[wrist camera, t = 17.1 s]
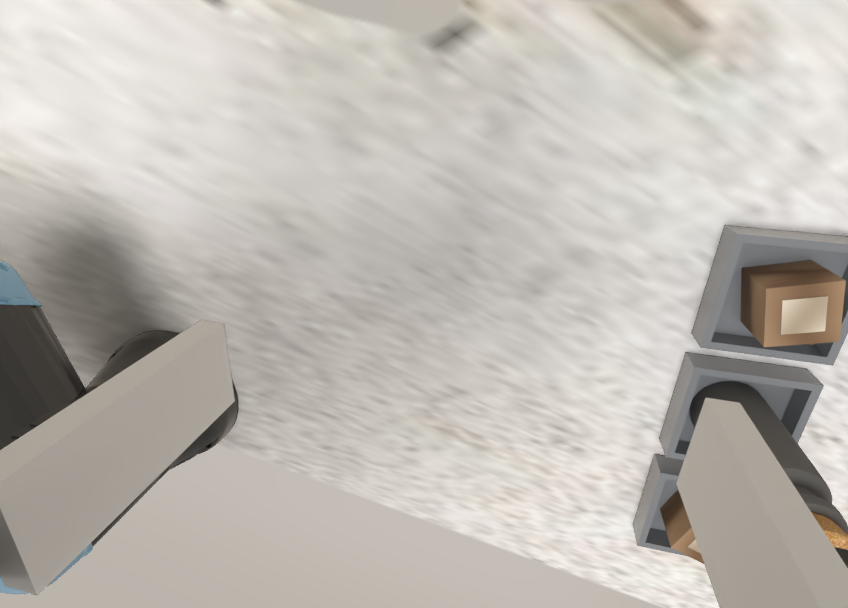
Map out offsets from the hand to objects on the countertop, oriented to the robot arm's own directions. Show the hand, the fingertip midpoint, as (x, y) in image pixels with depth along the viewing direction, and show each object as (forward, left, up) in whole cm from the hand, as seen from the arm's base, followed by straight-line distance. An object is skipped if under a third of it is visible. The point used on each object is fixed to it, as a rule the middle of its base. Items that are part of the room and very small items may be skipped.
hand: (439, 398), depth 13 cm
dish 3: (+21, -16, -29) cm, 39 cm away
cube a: (+21, -5, -28) cm, 36 cm away
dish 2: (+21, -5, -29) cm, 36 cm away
